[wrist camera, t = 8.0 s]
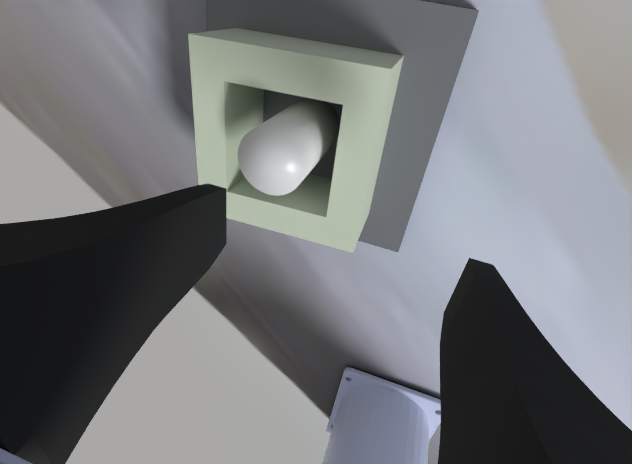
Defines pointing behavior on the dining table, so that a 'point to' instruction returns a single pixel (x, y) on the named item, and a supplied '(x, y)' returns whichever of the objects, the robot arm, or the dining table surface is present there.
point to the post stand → (324, 117)
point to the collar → (247, 113)
